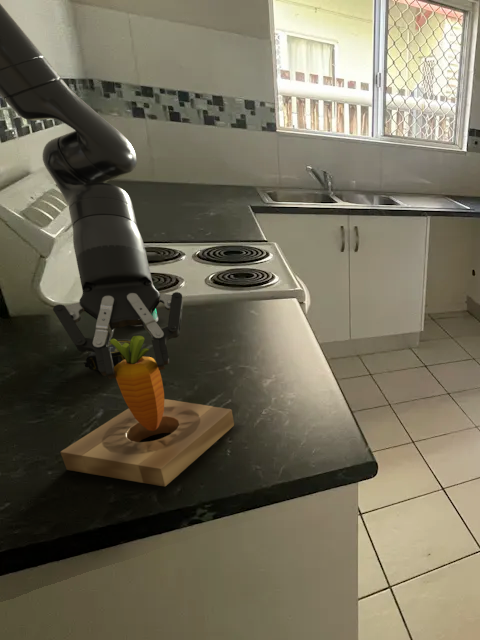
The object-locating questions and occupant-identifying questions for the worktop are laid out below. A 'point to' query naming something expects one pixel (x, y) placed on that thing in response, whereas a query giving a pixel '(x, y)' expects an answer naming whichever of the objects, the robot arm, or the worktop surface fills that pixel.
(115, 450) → the socket pad
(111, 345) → the tape measure
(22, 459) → the worktop surface
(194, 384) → the worktop surface
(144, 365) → the carrot
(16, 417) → the worktop surface
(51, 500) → the worktop surface
